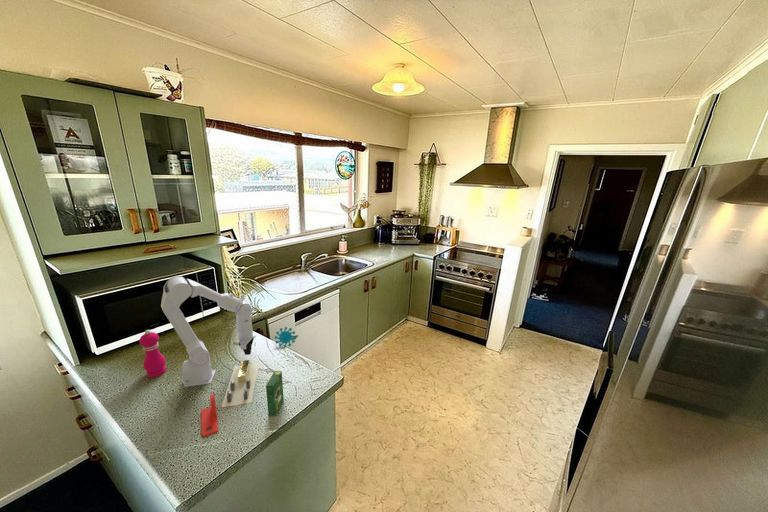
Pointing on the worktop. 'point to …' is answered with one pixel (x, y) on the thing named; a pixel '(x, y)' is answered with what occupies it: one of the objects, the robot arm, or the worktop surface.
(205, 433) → the bracket
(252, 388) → the mat
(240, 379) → the sanding block
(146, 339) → the pepper mill
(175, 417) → the worktop surface
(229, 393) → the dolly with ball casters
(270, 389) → the coffee box
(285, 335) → the gear
